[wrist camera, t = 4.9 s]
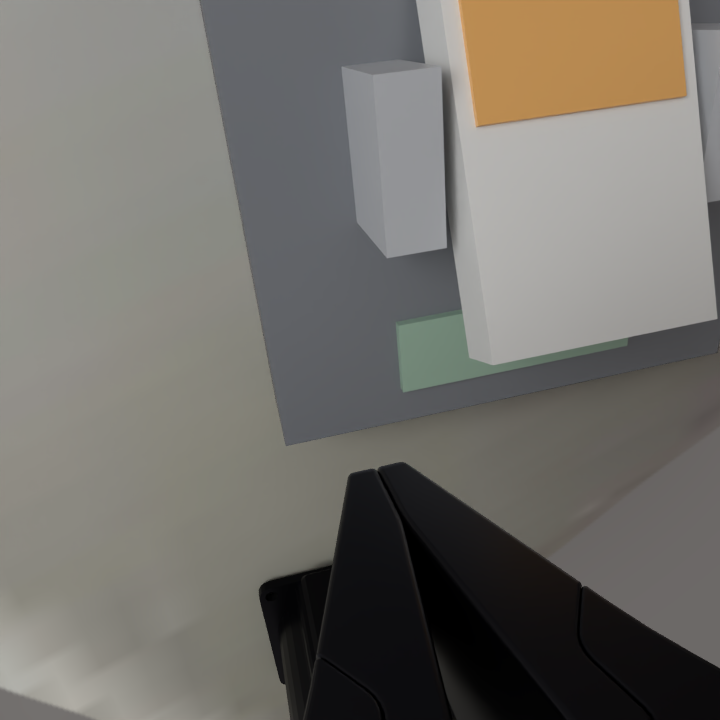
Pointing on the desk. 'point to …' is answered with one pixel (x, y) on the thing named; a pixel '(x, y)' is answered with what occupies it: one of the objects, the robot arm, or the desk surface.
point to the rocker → (571, 170)
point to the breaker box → (383, 216)
